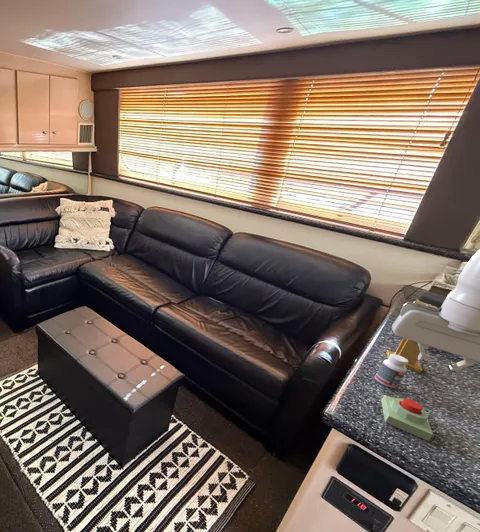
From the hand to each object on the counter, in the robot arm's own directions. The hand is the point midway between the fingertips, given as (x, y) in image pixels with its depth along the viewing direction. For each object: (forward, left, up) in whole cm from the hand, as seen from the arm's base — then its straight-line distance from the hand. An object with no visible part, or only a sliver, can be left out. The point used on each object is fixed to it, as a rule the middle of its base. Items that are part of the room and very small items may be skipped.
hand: (437, 365), depth 75 cm
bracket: (-4, -36, -17) cm, 40 cm away
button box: (0, 0, -17) cm, 17 cm away
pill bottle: (+2, -17, -17) cm, 24 cm away
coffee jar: (-11, -64, -17) cm, 67 cm away
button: (0, 0, -13) cm, 13 cm away
